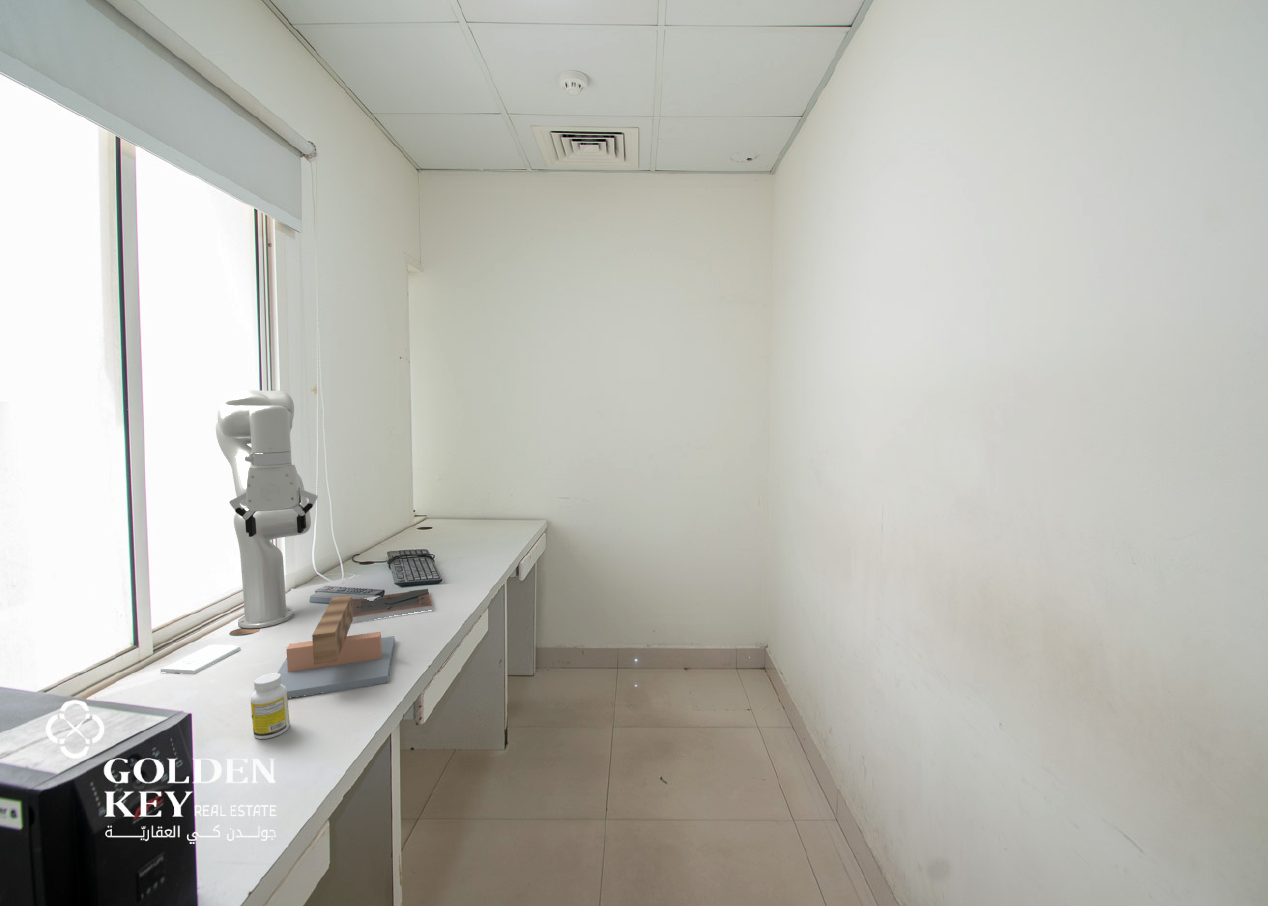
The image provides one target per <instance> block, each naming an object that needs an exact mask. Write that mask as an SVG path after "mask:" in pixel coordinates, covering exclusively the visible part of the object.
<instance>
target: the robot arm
mask: <svg viewBox="0 0 1268 906" xmlns="http://www.w3.org/2000/svg"><path fill="white" fill-rule="evenodd" d="M217 410H218V411H217V421H216V425H215V434H216V439H217V443H218V446H219V448H220V449H221V452H222V454H223V455H224V457H225V459H226V460H227V461H228V463H229V465H230V467H231V471H232V472H231V473H232V479H233V484H234V489H235V490H234V491H235V495H236V497H235V498H233V499H231V500H230V501H229V505H230V506H231V508H232V509H233V510H234V511H235V514H234V517H233V526H234V530H235V535H236V538H237V543H238V547H239V557H240V567H241V569H240V570H241V583H242V595H243V596H242V597H243V610H244V612H243V613H244V615H242V617H240V618H239V619H238V621H237V625H238V627H240V628H243V629H259V628H265V627H271V626H275V625H279V624H281V623H284V622H286V621H288V620H290V619H291V618H292V617H294V610H293V609H291V608H289V607H288V608H287V596H286V582H285V567H284V556H283V552H282V550H281V549H280V548H279V547H277V545H275V544H274V543H272V542H271V540H276V539H281V538H288V537H295V536H299V535H300V536H301V535H304V534H306V533H308V532H309V530H310V529H311V525H312V518H311V513H310V510H311V509H312V508H313V507H314V505H315V504H316V501H317V500H318V495H317V494H315V493H312V492H310V491H307V490H305V486H304V483H303V478H302V477H301V476H300V474H299V473H298V470H297V467H296V465H295V464H292V463H293V462H292V449H291V448H292V446H291V437H290V434H291V430H292V428H293V423H294V422H293V421H294V416H295V404H294V401H293V398H292V397H291V395H290V394H289V393H287V392H286V391H283V390H257V389H255V390H253V389H251V390H243V391H242V390H241V391H240V392H237V393H235V394H234V395H233V397H232V398H231V399H230V400H227V401H223V402H222V403H221V404H220V405H219V407H218V409H217ZM242 506H244V507H242Z"/></svg>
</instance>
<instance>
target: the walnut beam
mask: <svg viewBox="0 0 1268 906" xmlns="http://www.w3.org/2000/svg"><path fill="white" fill-rule="evenodd" d="M352 621H353V615H352V595H351V594H350V595H344V596H343V595H342V596H333V597H332V598H331V599H330V602H329V604H328V605H327V607H326V609H325V610H324V613H323V614H322V616H321V618H320V620H319V622H318V624H317V625H316V627H315V629H314V631H313V633H312V634H311V637H312V639H311V641H313V657H314V665H315V664H322V663H329V662H336V661H337V659H338V657H339V654H340V651H341V649H342V646H343V644H344V641H345V639H346V636H348V633H349V630H350V627H351V625H352V624H353V623H352ZM351 623H352V624H351Z"/></svg>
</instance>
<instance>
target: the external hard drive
mask: <svg viewBox="0 0 1268 906" xmlns="http://www.w3.org/2000/svg"><path fill="white" fill-rule="evenodd" d="M239 650H240V651H241V646H239V645H226V644H209V645H207V646H204V647H203V648H201V649H198V650H197V651H196V652H193V653H190V654H189V655H187V656H185V657H182V658H180V659H179V660H177V661H175V662H173V663H171V664H169V665H167V666H165V667H162V668H160V673H161V672H166V673H165V674H180V673H183V675H196V674H198V673H199V672H201V671H203V670H205V669H207V668H208V666H209V667H211V666H213V665H214V664H213V663H215V664H216V663H218V662H221V661H222V660H224V659H226V658H228V657H230V656H232V655H234V654H236V653H238V652H239ZM237 651H238V652H237ZM235 652H236V653H235ZM233 653H234V654H233ZM231 654H232V655H231ZM212 664H213V665H212ZM210 665H211V666H210ZM206 667H207V668H206ZM204 668H205V669H204ZM202 669H203V670H202ZM185 673H186V674H185Z"/></svg>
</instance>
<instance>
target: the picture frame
mask: <svg viewBox="0 0 1268 906" xmlns="http://www.w3.org/2000/svg"><path fill="white" fill-rule="evenodd" d="M382 595H383V597H382V598H381V599H379V600H377V601H369V600H367V599H358V598H353V599H352V615H353V621H352V623H351V625H352V624H356V623H357V624H358V623H364V621H365V622H370V621H369V620H372V621H375V620H374V619H378V618H384V617H389V616H394V615H402V614H408V613H414V612H421V611H428V610H432V611H433V603H432V599H431V596H430V592H429V589H428V588H423V589H416V590H415V589H414V590H409V591H404V592H397V593H389V594H382ZM378 620H379V619H378Z"/></svg>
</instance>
